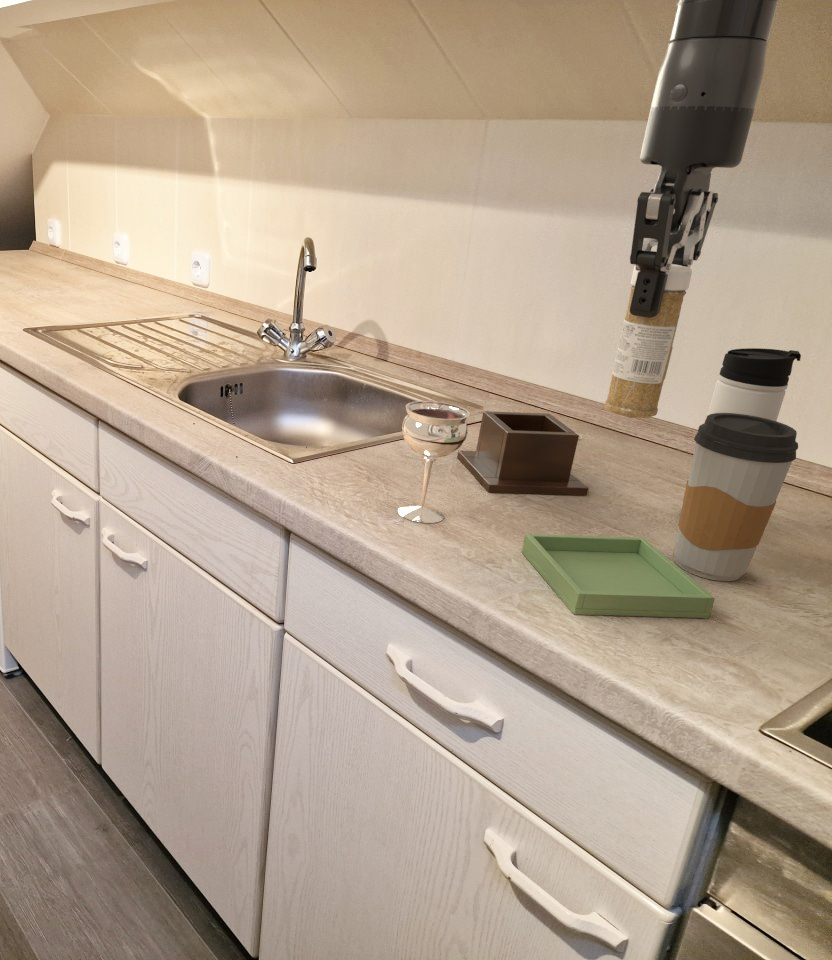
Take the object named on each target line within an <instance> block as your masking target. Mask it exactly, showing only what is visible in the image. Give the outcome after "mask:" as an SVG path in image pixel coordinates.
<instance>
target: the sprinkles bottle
mask: <svg viewBox="0 0 832 960" xmlns="http://www.w3.org/2000/svg"><path fill="white" fill-rule="evenodd" d="M638 272H639V271H637V270H636V265H635V264H634V267H633V270H632V275H631V278H630V285H631V286H630V294H629V299H628V303H627V309H626V313H625V316H624V319H623V323H622V328H621V332H620V336H619V340H618V346H617V349H616V354H615V359H614V363H613V367H612V373H611V374H612V376H611V379H610V384H609V389H608V394H607V398H606V400H605V402H604V407H605V409H606V410H608V411H609V412H611V413H614V414H616V415H620V416H624V417H627V418H637V419H638V418H639V419H648V418H652V417H655V416H657V415H658V411H659V408H658V406H659V402H660V397H661V393H662V390H663V385H664V382H665V380H666V377H667V373H668V369H669V365H670V362H671V361H670V360H671V357H672V353H673V349H674V347H673V345H674V340H675V337H676V332H677V328H678V323H679V320H680V314H681V309H682V305H683V302H684V297H685V295H687V290H688V289H689V287H690V283H691V279H692V274H693V269H692V268H691V267H690V268H689V267H686V266H681V265H675V264H672V266H671V269H670V270H669V272H668V273H667V274H668V277H667V281H666V285H665V290H664V294H663V298H662V302H661V306H660V311H659V314H658V315H657V316H655V317H652V318H648V317H641V316H634V315H632V314H631V313H630V306H631V302H632V297H633V293H634V288H635V284H636V279H637V275H638Z"/></svg>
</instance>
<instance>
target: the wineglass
mask: <svg viewBox="0 0 832 960" xmlns="http://www.w3.org/2000/svg"><path fill="white" fill-rule="evenodd" d="M405 411H406V413H407V414H406V415H405V417H404V418H403V421H402V425H401V427H402V429H401V430H402V431H401V432H402V436H403V440H404V442H405V443H406V444H407V445H408V446H409V448H410V449H411V450H412V451H414V452H415V453H417V454H418V455H420V456H421V458H422V459H423V460H424V470H423V478H422V488H421V494H420V495H421V496H420V503H419V504H406V505H402V506H400V507H399V508H398V509H397V512H398V514H399V515H400V516H401V517H402V518H404V519H406V520H409V521H412V522H416V523H422V524H434V523H439V522H441V521H443V520H444V519H445V516H444V514H443V513H442V512H441V511H439V510H438V509H436V508H434V507H431V506H428V505H425V502H426V499H427V498H426V497H427V492H428V488H429V483H430V478H431V473H432V468H433V464H434V462H436V461H437V460H438V459H439V458H442V457H447V456H450V455H451V454H453V453H454V452H456V451H457V450H459V449H460V448H461V447H462V446H463V444H464V442H465V441H466V439H467V437H468V436H467V435H468V426H467V423H466V421H467V418H468V417H469V416H470V415H471V413H470V411H469V410H468V409H466V408H464V407H462V406H459V405H455V404H451V403H448V402H443V401H435V400H416V401H412V402H408V403H407V404H405Z"/></svg>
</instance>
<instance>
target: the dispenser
mask: <svg viewBox="0 0 832 960" xmlns="http://www.w3.org/2000/svg"><path fill="white" fill-rule="evenodd" d="M479 428H480V429H479V433H478V438H477V444H476V450H458V451H457V456H456V457H457V459H458V461H460V463H462V465H463V466H464V467H465V468H466V470H468V472H470V474H471V475H472V476H473V477H474V478H475V479H476V480H477V481H478V482H479V484H480V485H481V486H482V487H483V488H484V490H486V492H487V493H498V494H499V493H500V494H527V495H528V494H531V495H558V496H559V495H560V496H562V495H563V496H584V497H585V496H588V493H589V487H588V486H587V485H586V484H584V483H583V482H582V481H581V480H579V478H577V477H576V476H575V475H574V474H573V473H572V469H573V464H574V459H575V455H576V451H577V447H578V442H579V437H580V435H579V434H578V433H576V431H574V430H573V429H571V428H570V427H569V426H567V425H565V424H564V423H563V422H561V421H560V420H559V419H557V418H556V417H555V416H554V415H552V414H551V413H543V412H518V411H494V410H493V411H489V410H483V411H482V416H481V422H480V426H479Z"/></svg>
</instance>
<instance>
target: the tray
mask: <svg viewBox="0 0 832 960" xmlns="http://www.w3.org/2000/svg"><path fill="white" fill-rule="evenodd" d="M521 553H522V554H523V556H524V557H525V558H526V560H528V562H529V563H530V564H531V565H532V566H533V567H534V569H535V570H536V571H537V572H538V573H539V575H540V576H541V577H542V578H543V580H544V581H545V582H546V583H547V584H548V585H549V587H550V588H551V589H552V591H554V593H555V594H556V595H557V596H558V597H559V598H560V600H561V601H562V602H563V603H564V605H566V607H567V608H568V609H569V610H570V612H571V613H572V614H573V615H586V616H614V617H615V616H616V617H617V616H618V617H619V616H621V617H651V618H652V617H653V618H654V617H655V618H683V619H685V618H687V619H690V618H691V619H709V618H710V615H711V611H712V609H713V605H714V602H715V600H716V598H715V596H713V595H712V594H711V593H710V592H708V591H707V589H705V588H704V587H703V586H702V585H701V584H699V583H698V582H697V581H696V580H694V578H692V577H691V576H690V575H688V574H687V572H686V571H685V570H684V569H682V568H681V567H680V566H678V565H677V564H676V563H674V562H673V561H672V560H671V559H670V558H668V557H667V555H665V554H664V553H663V552H661V551H660V550H659V549H658V548H657V547H656V546H654V545H653V544H652V543H651V542H650V541H649V540H647V539H646V538H645V537H633V536H632V537H631V536H607V535H606V536H602V535H577V534H575V535H574V534H573V535H572V534H546V533H545V534H541V533H525V534H524V539H523V543H522V549H521Z"/></svg>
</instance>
